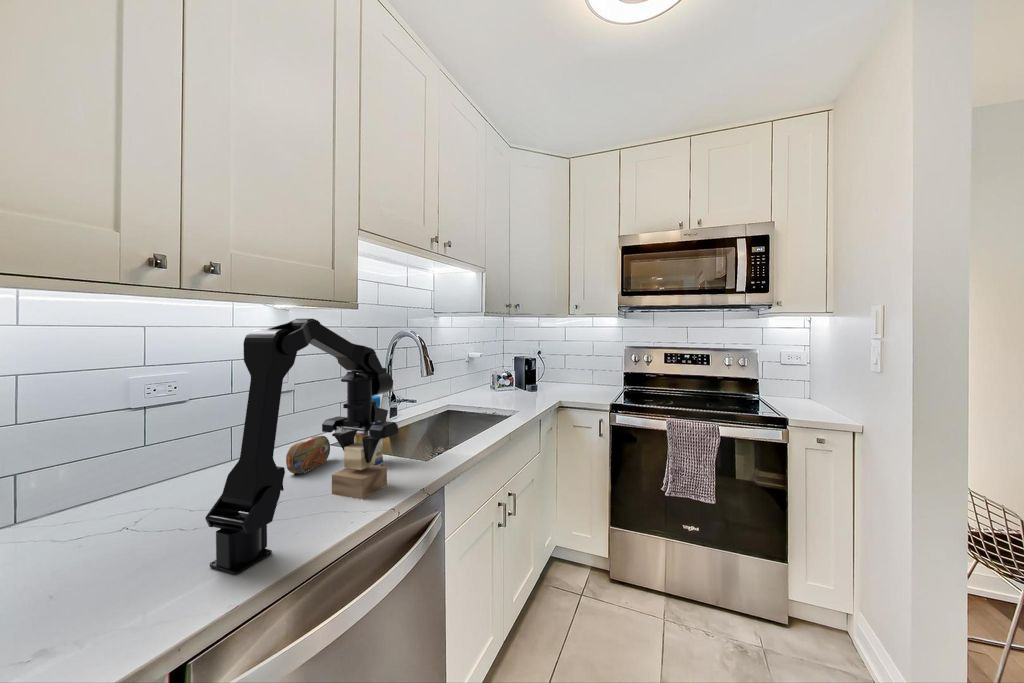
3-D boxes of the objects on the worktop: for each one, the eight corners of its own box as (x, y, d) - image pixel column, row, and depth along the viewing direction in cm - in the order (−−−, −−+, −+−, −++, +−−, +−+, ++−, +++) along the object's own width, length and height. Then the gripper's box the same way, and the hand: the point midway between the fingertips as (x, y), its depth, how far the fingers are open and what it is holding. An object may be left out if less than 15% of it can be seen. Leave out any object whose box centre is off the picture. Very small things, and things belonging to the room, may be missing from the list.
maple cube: (361, 470, 92) (361, 449, 92) (344, 467, 94) (344, 447, 94) (374, 463, 97) (375, 443, 97) (358, 461, 99) (358, 441, 99)
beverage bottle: (350, 463, 114) (349, 396, 114) (379, 458, 119) (379, 393, 118) (356, 472, 107) (355, 400, 107) (386, 466, 112) (386, 397, 111)
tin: (293, 478, 103) (293, 447, 102) (283, 477, 103) (283, 446, 103) (331, 460, 117) (331, 432, 117) (322, 459, 118) (321, 432, 118)
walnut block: (362, 500, 90) (362, 479, 90) (331, 495, 93) (331, 474, 93) (386, 486, 98) (386, 466, 98) (358, 481, 101) (358, 462, 101)
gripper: (411, 396, 100) (411, 456, 100) (352, 391, 106) (352, 448, 106) (383, 403, 89) (383, 470, 89) (320, 398, 95) (320, 461, 96)
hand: (359, 461), depth 95 cm, fingers closed on maple cube, 5 cm apart
